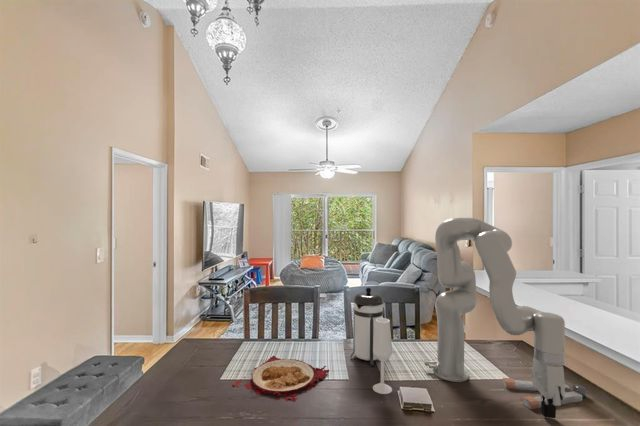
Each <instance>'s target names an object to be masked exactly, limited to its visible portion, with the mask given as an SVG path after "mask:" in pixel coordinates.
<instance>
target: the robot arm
mask: <svg viewBox="0 0 640 426" xmlns="http://www.w3.org/2000/svg"><path fill="white" fill-rule="evenodd" d="M434 239H435V248H436V265H437V266H436V267H437V268H436V269H437V279H438V282H439V284H440V285H441V286H442V287H444V288H447V289H450V288H452V289H450V290H447V291H443V292H441V293H440V294H439V295H437V296H436V299H435V303H434V306H435V313H436V319H437V320H436V322H437V351H436V352H437V357H435V359H434V360H428V359H427V360H424V366H425V367H428V368H429V369H432V371H433V374H434V375H435V376H436V377H438V378H440V379H442V380H444V381H446V382H447V381H448V382H453V383H462V382H465V381H467V380H468V379H469V377H470V376H469V372H468V371H467V370H466V368H465V326H464V322H463V320H462V319H463V318H462V316H463V315H465V314H468V313H470V312H472V311H473V310H475V309H476V305H477V300H478V299H477V297H478V296H477V283H476V281H477V279H476V273H475V269H474V268H473V266H472V265H471V264H470V263H469V262H467V261H463V260H461V249H460V247H459V244H458V242H459V241H473V242H474V246H475V248H476V251H477V254H478V256H479V258H480V260H481V263H482V265H483V268H484V270H485V272H486V275H487V277H488V280H489V285H488V291H489V299H490V305H491V309H492V311H493V314H494V315H495V318H496V321H497V322H498V324H499V326H500V328H502V330H503V331H504V332H505V333H507V334H509V335H511V336H521V335H524V334H525V333H528V332H533V359H532V365H531V366H532V370H531V381H532V383H533V385H534V386H535V387H536V388H537V390H538V391H537V392H539V393H540V396H541V400H542V401H541V407H540V409H541V410H540V411H541V412H540V413H541V415H542V416H543V417H544V418H551V419H556V417H557V415H556V414H557V413H556V412H557V410H556V409H557V407H561V405H562V404H561V403H560V399H561V400H564V398H565V384H566V383H565V382H566V381H565V372H564V371H565V369H564V365H565V341H566V340H565V339H566V337H565V336H566V333H565V332H566V330H565V329H566V325H565V323H566V322H565V319H564V318H563V316H561V315H559V314H556V313H553V312H544V311H541V310H539V309H536V308H533V307H531V306H526V305H520V306H517V304H516V301H515V299H514V295H513V287H514V282H515V281H516V279H517V278H516V277H517V270H516V268H515V266H514V264H513V262H512V260H511V257H510V255H509V253H508V252H509V251H510V250H511V249H512V246H513V241H512V238H511V237H510V235H509V234H508V233H507V232H505V231H504V230H502V229H500V228H498V227H496V226H494V225H492V224H489V223H487V222H485V221H483V220H481V219H478V218H475V217H451V218H449V219H446V220H444V221H443V222H442V223H440V224H439V225H438V227H437V228H436V230H435V236H434ZM552 398H553V399H552Z"/></svg>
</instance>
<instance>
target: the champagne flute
mask: <svg viewBox="0 0 640 426" xmlns="http://www.w3.org/2000/svg"><path fill="white" fill-rule="evenodd" d="M391 332H392V331H391V322H390V319H389V318H386V317H385V318H378V319H376V324H375V334H374V344H373V353H374V355H375V356H376V357H377V358H378V359H377V360H378V361H380V382H379V383H375V384H374V385H373V386H372V389H373V391H374V392H376V393H378V394H380V395H387V394H390V393H392V392H393V388H392V386H391V385H389V384H386V383H385V362H386V361H388V360H389V359H390V358H391V357H392V355H393V343H392V335H391V334H392V333H391Z"/></svg>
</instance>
